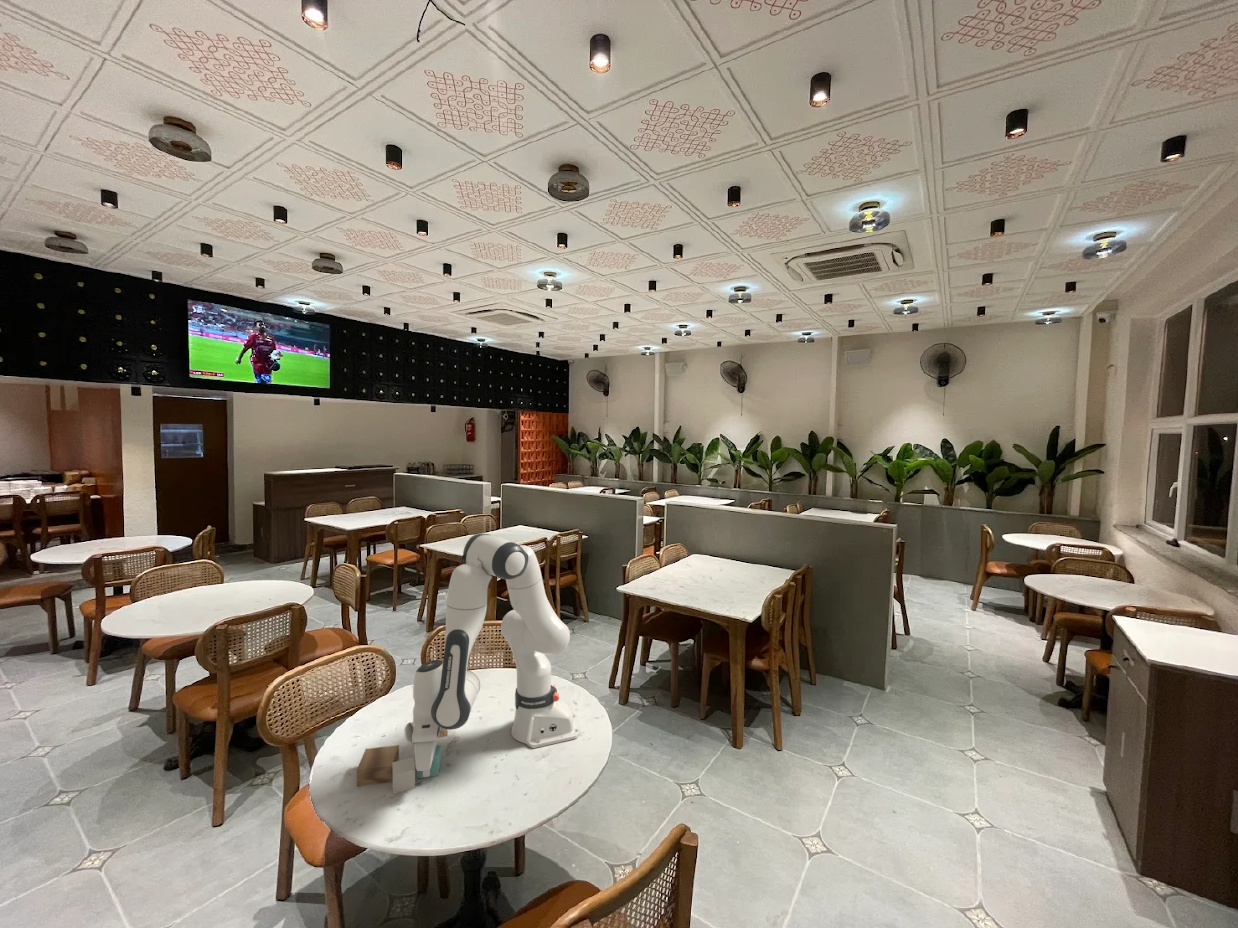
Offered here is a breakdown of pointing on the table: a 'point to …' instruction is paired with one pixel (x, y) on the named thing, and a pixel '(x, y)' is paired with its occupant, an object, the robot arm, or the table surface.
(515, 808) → the table surface
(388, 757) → the walnut base
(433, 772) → the teal cube
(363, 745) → the table surface
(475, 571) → the robot arm
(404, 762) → the grey cube
